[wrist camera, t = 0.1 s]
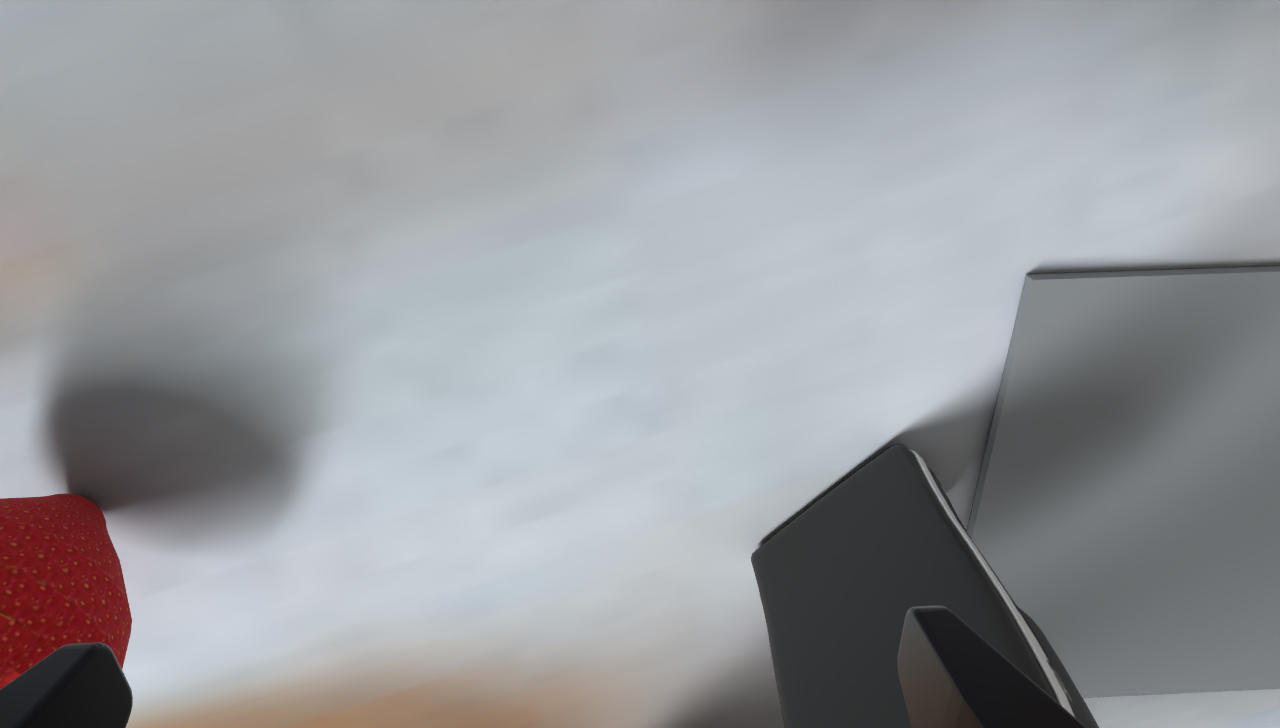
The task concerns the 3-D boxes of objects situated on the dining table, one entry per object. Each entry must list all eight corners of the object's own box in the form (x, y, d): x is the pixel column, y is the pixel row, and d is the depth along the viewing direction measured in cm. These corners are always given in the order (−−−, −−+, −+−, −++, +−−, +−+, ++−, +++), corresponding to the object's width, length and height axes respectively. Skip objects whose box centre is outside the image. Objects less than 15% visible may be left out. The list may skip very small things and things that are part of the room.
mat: (1324, 677, 32) (1332, 686, 32) (928, 696, 32) (932, 704, 32) (1569, 256, 23) (1583, 261, 23) (1025, 274, 23) (1032, 279, 23)
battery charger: (810, 606, 29) (917, 964, 19) (739, 553, 28) (815, 910, 18) (970, 492, 27) (1184, 832, 17) (901, 428, 26) (1089, 757, 16)
